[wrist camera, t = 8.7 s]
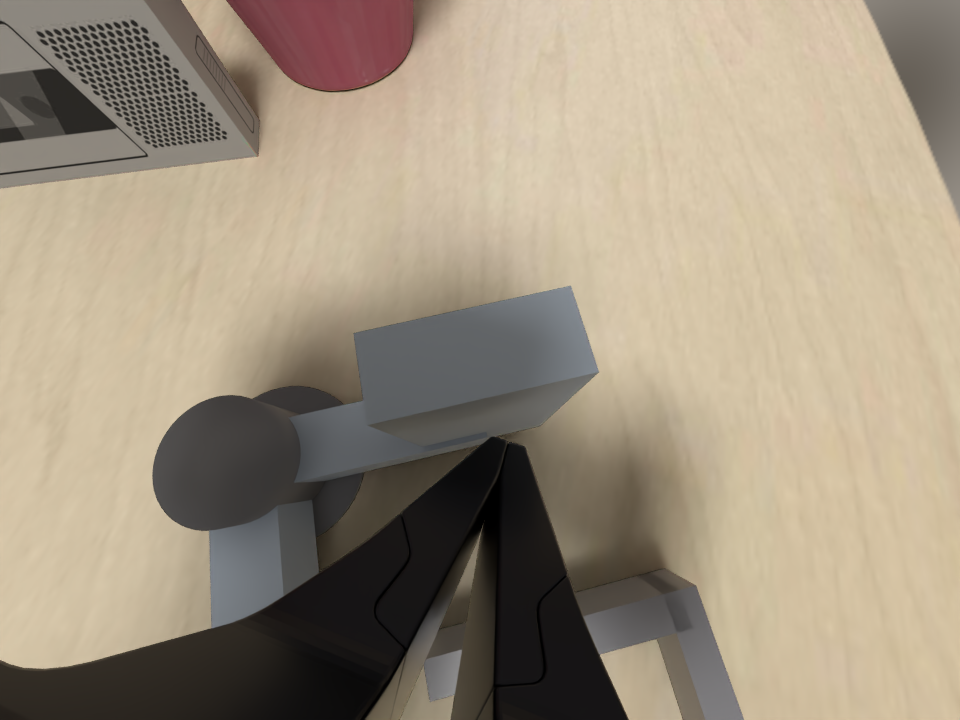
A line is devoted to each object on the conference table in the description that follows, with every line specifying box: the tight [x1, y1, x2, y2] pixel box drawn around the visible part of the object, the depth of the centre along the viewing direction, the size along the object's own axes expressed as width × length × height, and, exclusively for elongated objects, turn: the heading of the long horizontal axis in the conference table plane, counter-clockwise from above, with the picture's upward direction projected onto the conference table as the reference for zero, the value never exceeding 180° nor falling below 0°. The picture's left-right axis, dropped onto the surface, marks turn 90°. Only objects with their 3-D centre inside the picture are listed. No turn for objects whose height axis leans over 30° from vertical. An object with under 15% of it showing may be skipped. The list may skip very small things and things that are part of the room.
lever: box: [153, 286, 599, 628], centre depth 11 cm, size 17×14×10 cm
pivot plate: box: [253, 386, 364, 537], centre depth 17 cm, size 7×7×1 cm
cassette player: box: [0, 0, 259, 188], centre depth 18 cm, size 16×3×10 cm, turn 98°
